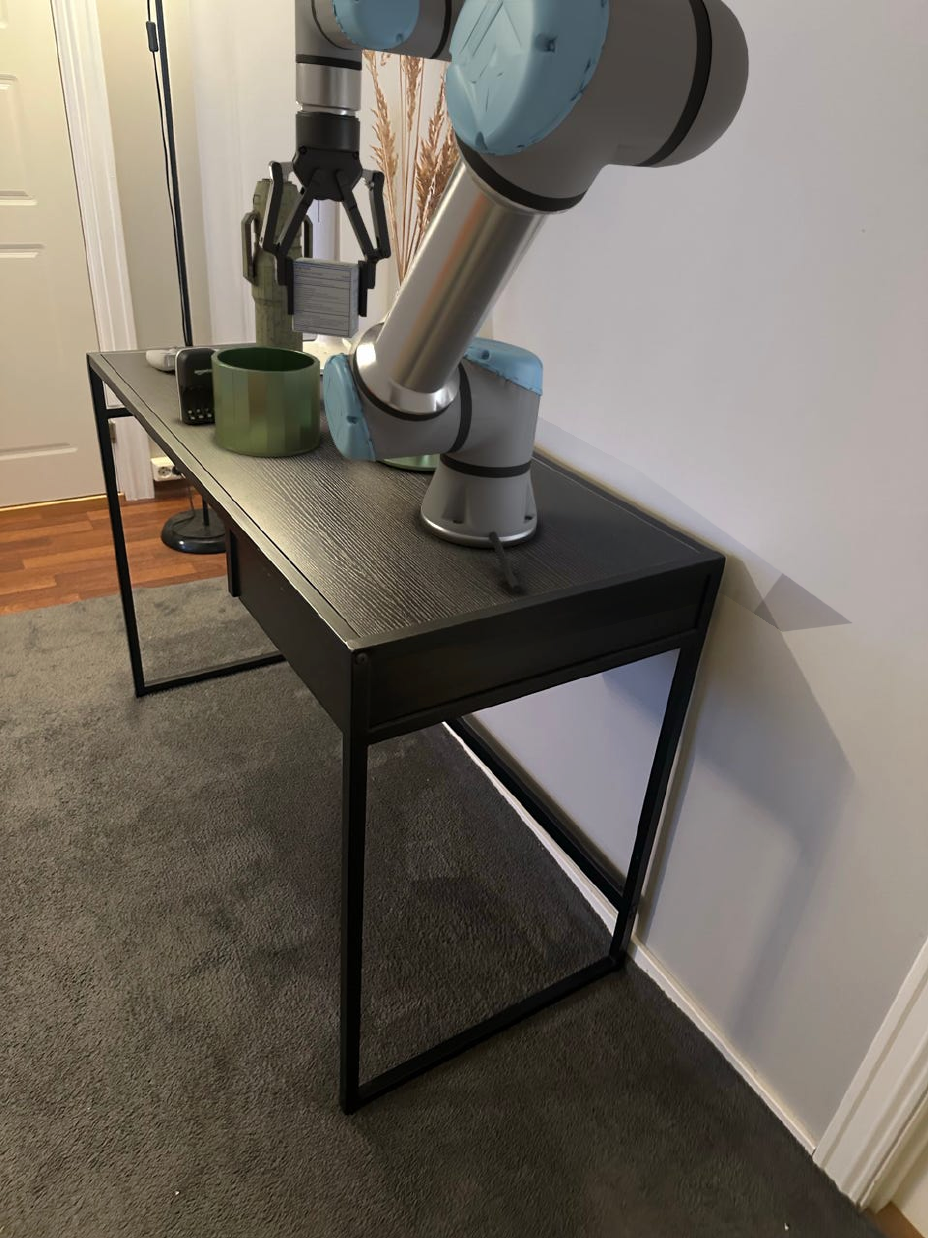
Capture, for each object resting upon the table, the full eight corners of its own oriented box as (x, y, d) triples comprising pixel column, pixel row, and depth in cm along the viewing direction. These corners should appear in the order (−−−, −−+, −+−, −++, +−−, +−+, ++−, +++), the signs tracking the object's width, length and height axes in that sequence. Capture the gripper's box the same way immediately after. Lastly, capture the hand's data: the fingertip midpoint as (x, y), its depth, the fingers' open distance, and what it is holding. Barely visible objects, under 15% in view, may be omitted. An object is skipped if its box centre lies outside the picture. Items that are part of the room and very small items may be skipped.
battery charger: (188, 427, 131) (182, 353, 125) (177, 420, 133) (171, 348, 128) (229, 422, 135) (225, 350, 130) (218, 415, 138) (214, 344, 132)
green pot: (328, 455, 126) (329, 372, 120) (222, 458, 121) (217, 372, 115) (308, 423, 139) (308, 346, 132) (211, 424, 133) (207, 344, 127)
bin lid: (488, 472, 126) (495, 413, 122) (382, 476, 121) (385, 414, 116) (452, 436, 140) (457, 382, 135) (355, 439, 134) (357, 382, 129)
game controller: (217, 344, 166) (230, 345, 158) (220, 367, 167) (232, 369, 159) (142, 345, 159) (151, 346, 151) (145, 369, 161) (154, 371, 152)
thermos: (237, 399, 146) (227, 175, 129) (294, 391, 154) (292, 178, 136) (264, 413, 141) (258, 181, 123) (322, 404, 148) (324, 184, 131)
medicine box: (358, 332, 111) (361, 263, 107) (351, 339, 107) (353, 268, 103) (300, 325, 111) (300, 256, 107) (291, 332, 108) (291, 260, 103)
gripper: (408, 120, 103) (397, 310, 115) (229, 100, 96) (237, 304, 107) (426, 122, 97) (413, 322, 109) (236, 100, 90) (244, 317, 101)
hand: (325, 313), depth 108 cm, fingers closed on medicine box, 9 cm apart
